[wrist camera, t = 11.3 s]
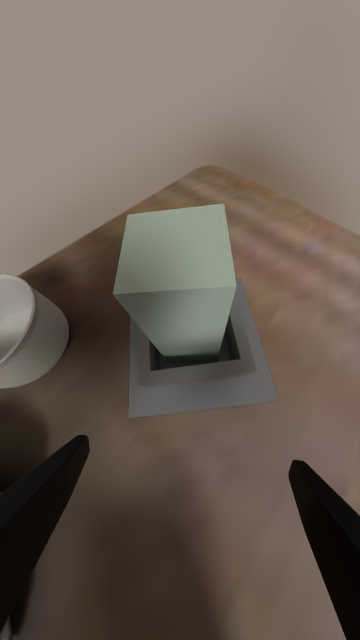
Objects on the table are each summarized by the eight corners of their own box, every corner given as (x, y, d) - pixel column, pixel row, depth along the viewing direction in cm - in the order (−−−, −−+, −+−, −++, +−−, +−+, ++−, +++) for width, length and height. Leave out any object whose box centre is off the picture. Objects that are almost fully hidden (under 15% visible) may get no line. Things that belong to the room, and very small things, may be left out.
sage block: (216, 361, 19) (236, 285, 7) (168, 362, 19) (112, 294, 8) (213, 317, 21) (223, 203, 9) (169, 319, 21) (127, 214, 10)
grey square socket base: (275, 401, 17) (299, 399, 13) (132, 417, 18) (108, 421, 14) (239, 282, 24) (247, 253, 19) (133, 299, 24) (117, 275, 20)
